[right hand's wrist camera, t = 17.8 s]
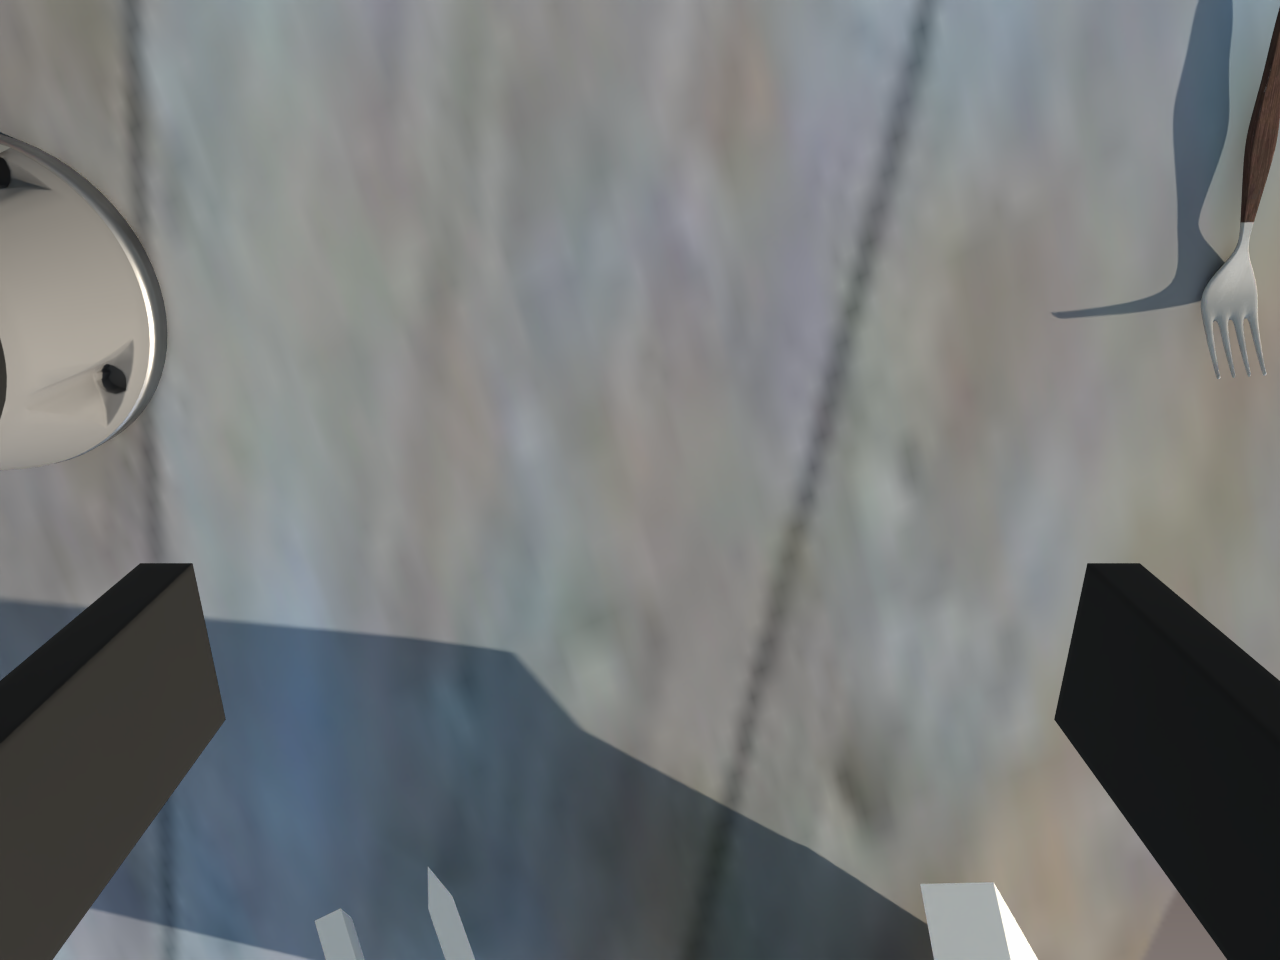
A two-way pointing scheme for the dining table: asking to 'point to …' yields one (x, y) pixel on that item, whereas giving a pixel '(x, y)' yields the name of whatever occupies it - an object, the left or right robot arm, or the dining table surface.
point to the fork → (1246, 223)
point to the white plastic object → (956, 912)
